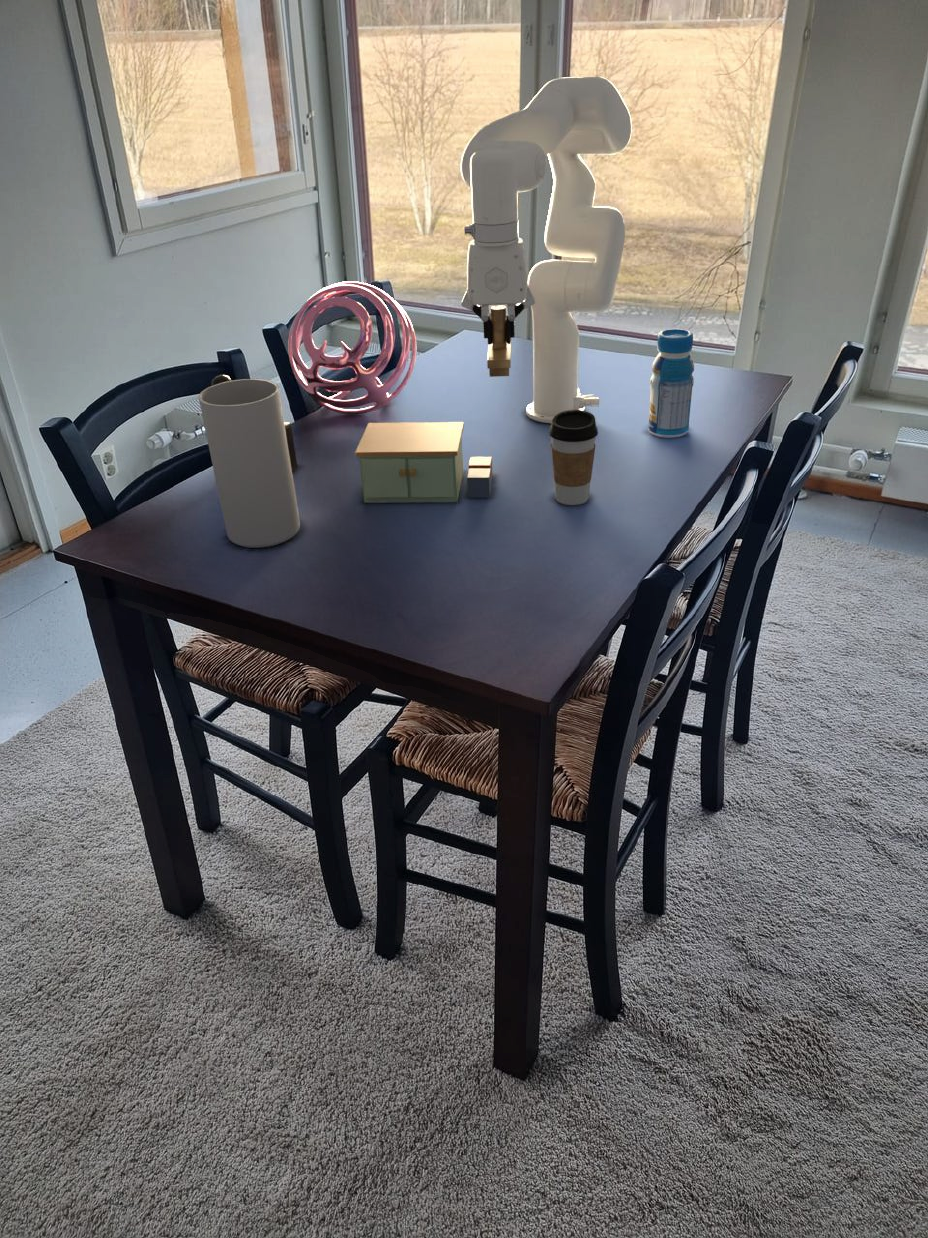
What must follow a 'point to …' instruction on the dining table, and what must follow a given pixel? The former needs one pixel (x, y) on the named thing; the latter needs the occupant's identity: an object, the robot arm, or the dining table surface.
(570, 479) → the coffee cup
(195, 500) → the dining table surface
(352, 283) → the pink openwork sphere
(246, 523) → the cylinder vase
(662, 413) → the beverage bottle
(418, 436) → the cabinet
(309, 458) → the dining table surface
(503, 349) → the brush
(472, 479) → the slate block
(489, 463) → the terracotta block
